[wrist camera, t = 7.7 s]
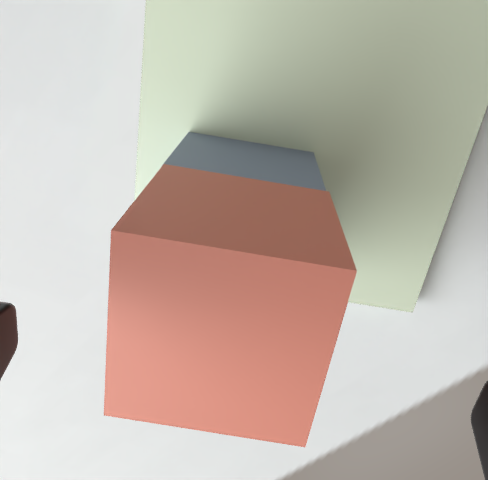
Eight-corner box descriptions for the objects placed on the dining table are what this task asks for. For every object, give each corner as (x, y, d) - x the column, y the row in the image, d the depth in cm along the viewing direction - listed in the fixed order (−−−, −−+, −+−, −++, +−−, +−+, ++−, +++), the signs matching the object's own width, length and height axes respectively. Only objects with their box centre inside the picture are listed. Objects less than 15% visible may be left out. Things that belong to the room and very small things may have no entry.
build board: (549, -104, 16) (566, -112, 15) (406, 300, 22) (412, 312, 21) (163, -171, 15) (156, -184, 14) (136, 257, 22) (130, 266, 21)
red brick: (329, 191, 14) (356, 270, 9) (295, 328, 16) (304, 447, 11) (163, 163, 14) (111, 230, 9) (151, 304, 16) (103, 415, 11)
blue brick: (313, 152, 19) (327, 192, 14) (289, 262, 21) (293, 329, 16) (189, 131, 18) (161, 165, 14) (177, 244, 21) (150, 306, 16)
